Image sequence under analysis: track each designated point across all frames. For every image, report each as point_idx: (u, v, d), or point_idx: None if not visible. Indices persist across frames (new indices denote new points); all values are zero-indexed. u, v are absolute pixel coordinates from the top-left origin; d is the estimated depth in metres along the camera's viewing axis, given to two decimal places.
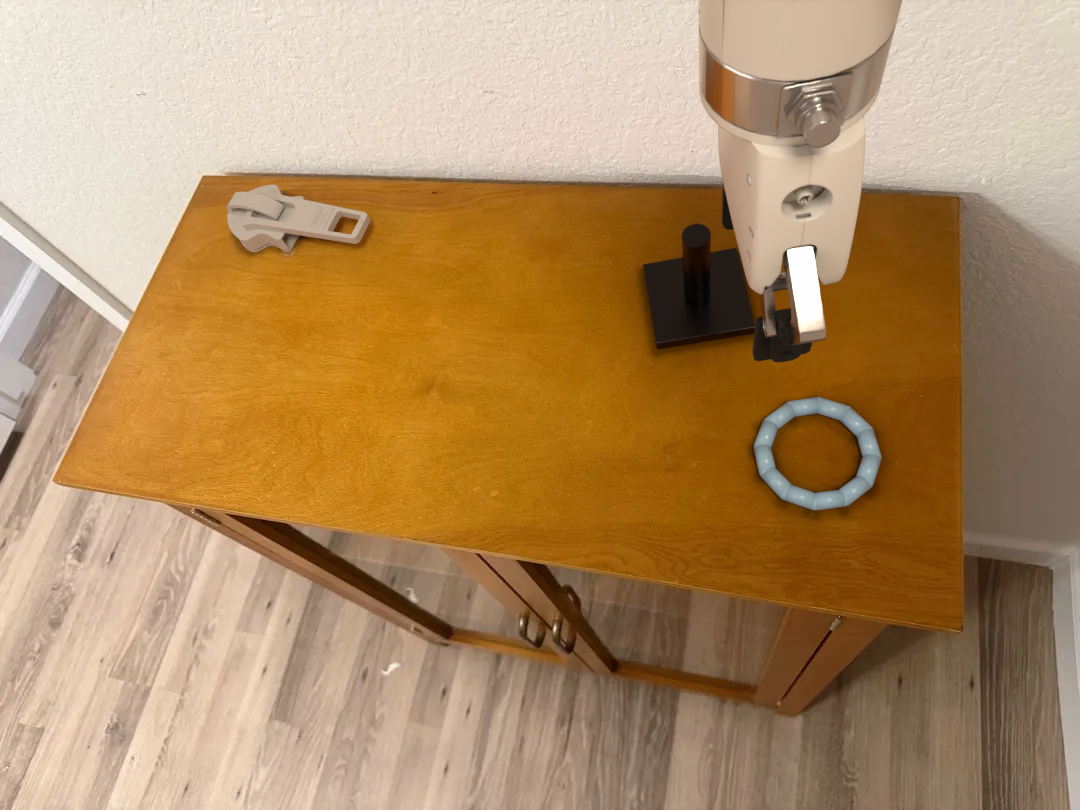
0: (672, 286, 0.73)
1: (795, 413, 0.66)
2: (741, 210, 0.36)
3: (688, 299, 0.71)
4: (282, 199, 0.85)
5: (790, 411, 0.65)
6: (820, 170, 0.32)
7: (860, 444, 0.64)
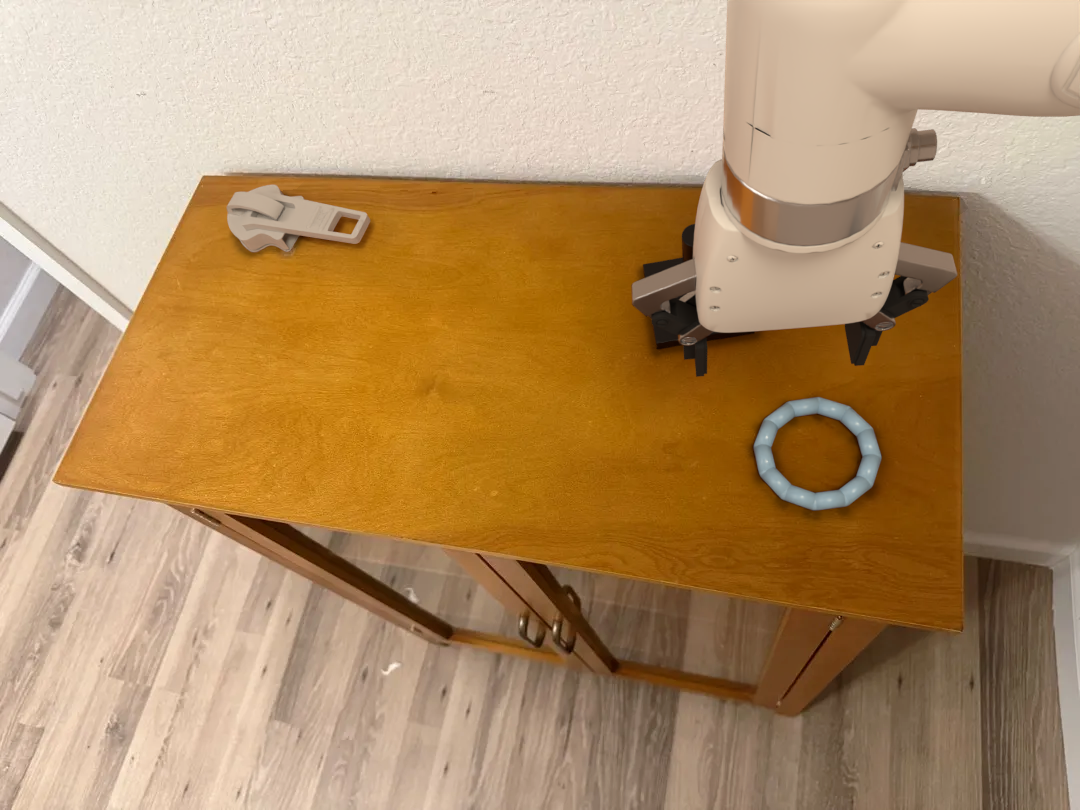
0: None
1: (795, 413, 0.66)
2: (858, 279, 0.39)
3: None
4: (281, 199, 0.85)
5: (790, 411, 0.65)
6: None
7: (860, 444, 0.64)
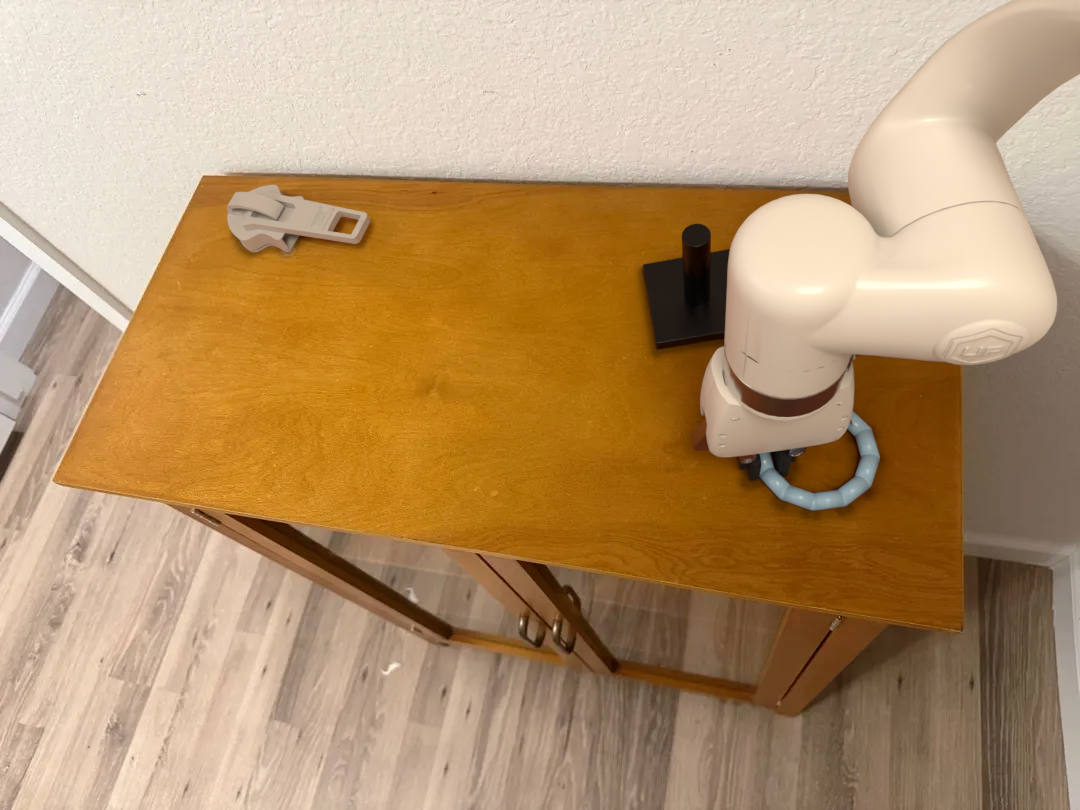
0: (672, 286, 0.73)
1: None
2: (826, 422, 0.53)
3: (688, 299, 0.71)
4: (282, 199, 0.85)
5: None
6: None
7: (858, 444, 0.64)
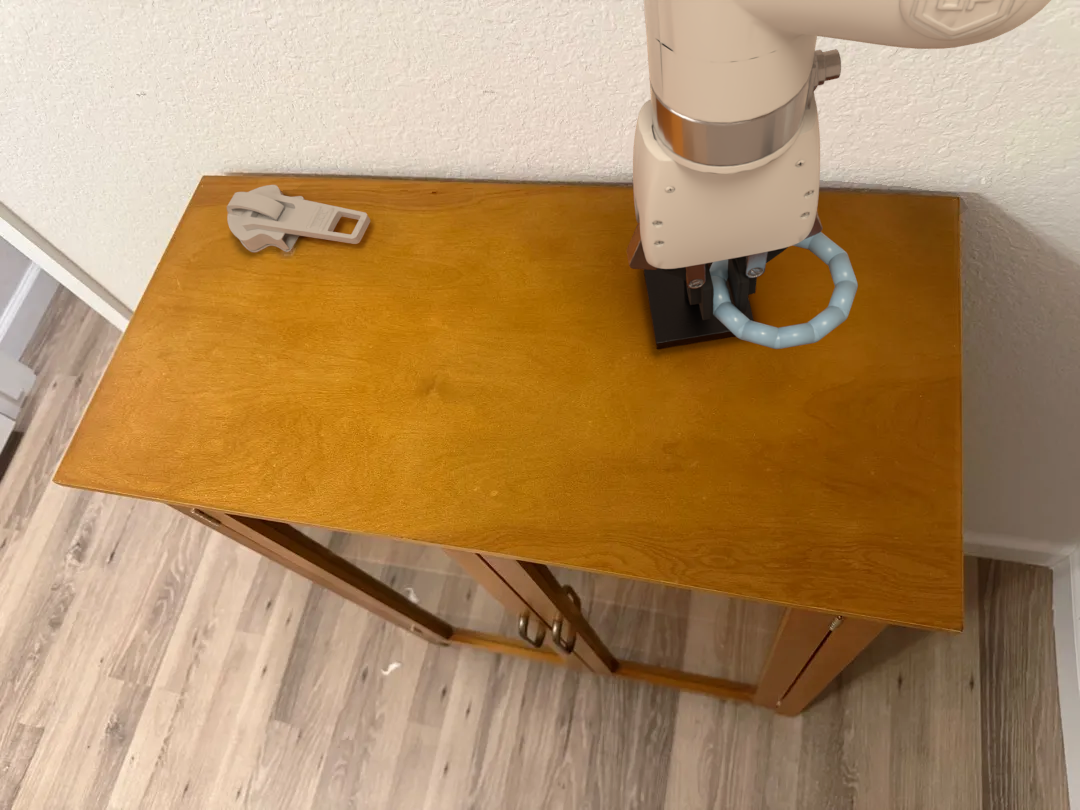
0: (672, 286, 0.73)
1: None
2: (786, 200, 0.42)
3: (688, 299, 0.71)
4: (282, 199, 0.85)
5: None
6: None
7: (832, 272, 0.53)
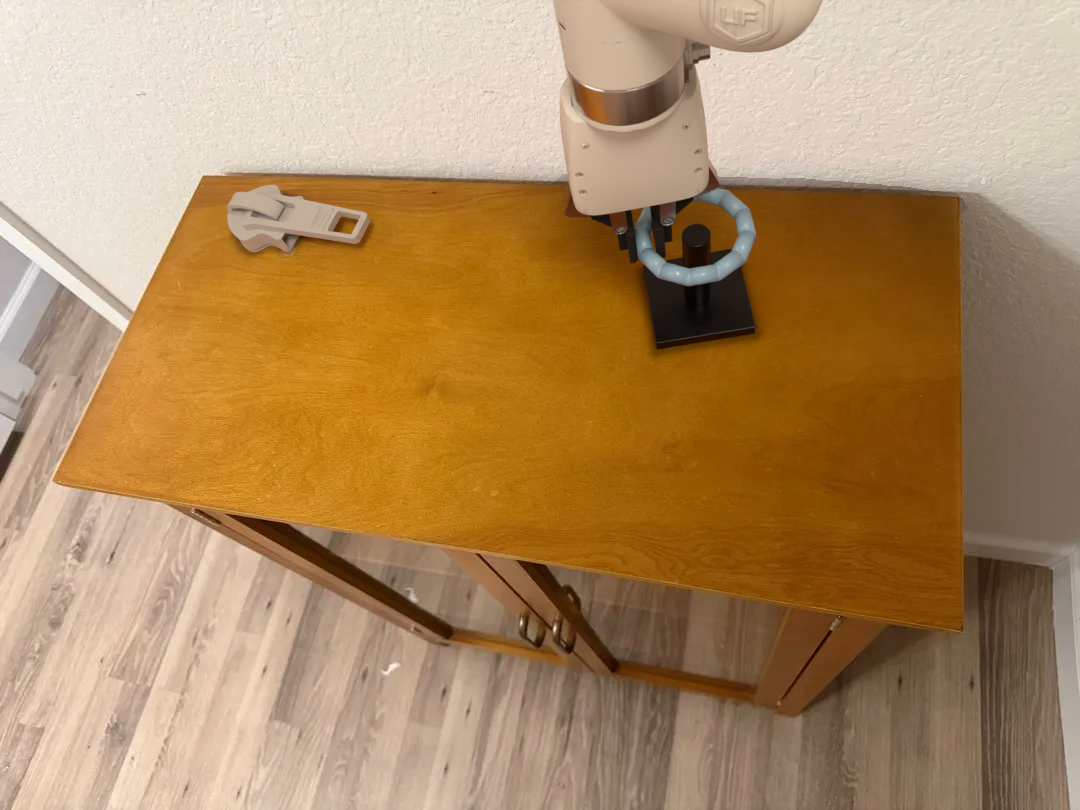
0: (672, 286, 0.73)
1: None
2: (680, 156, 0.53)
3: (688, 299, 0.71)
4: (282, 199, 0.85)
5: None
6: (698, 79, 0.50)
7: (736, 224, 0.64)
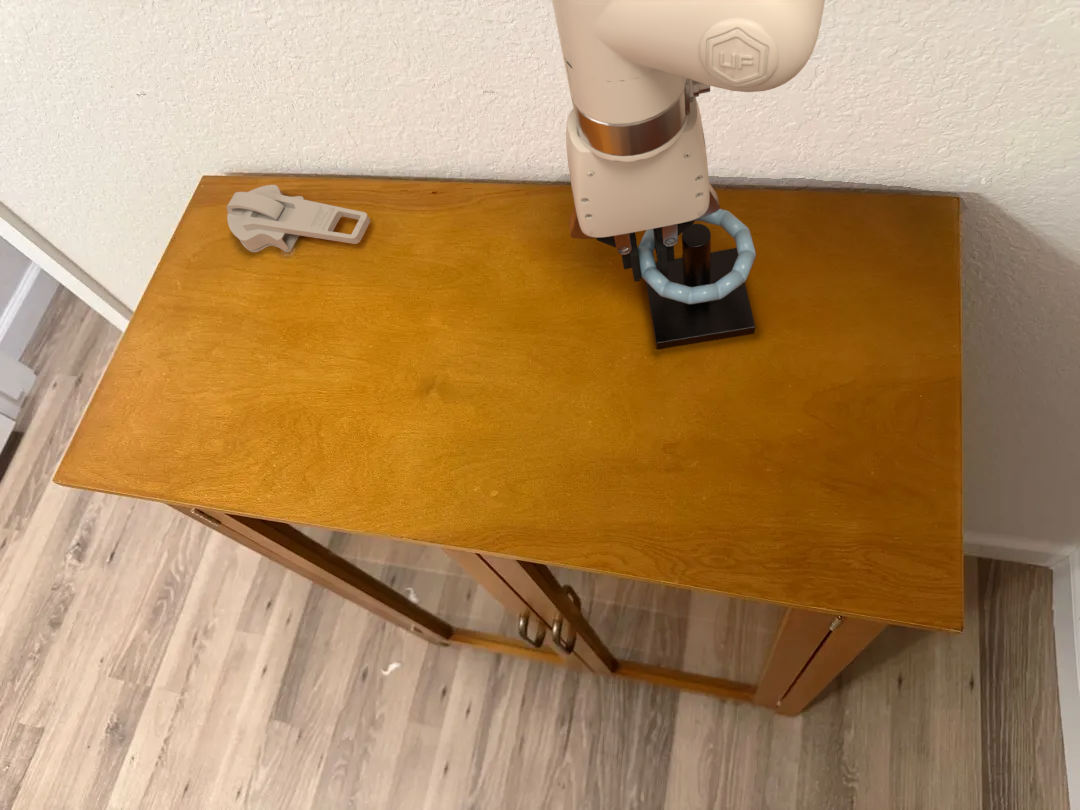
0: None
1: None
2: (681, 183, 0.55)
3: None
4: (282, 199, 0.85)
5: None
6: None
7: (736, 243, 0.66)
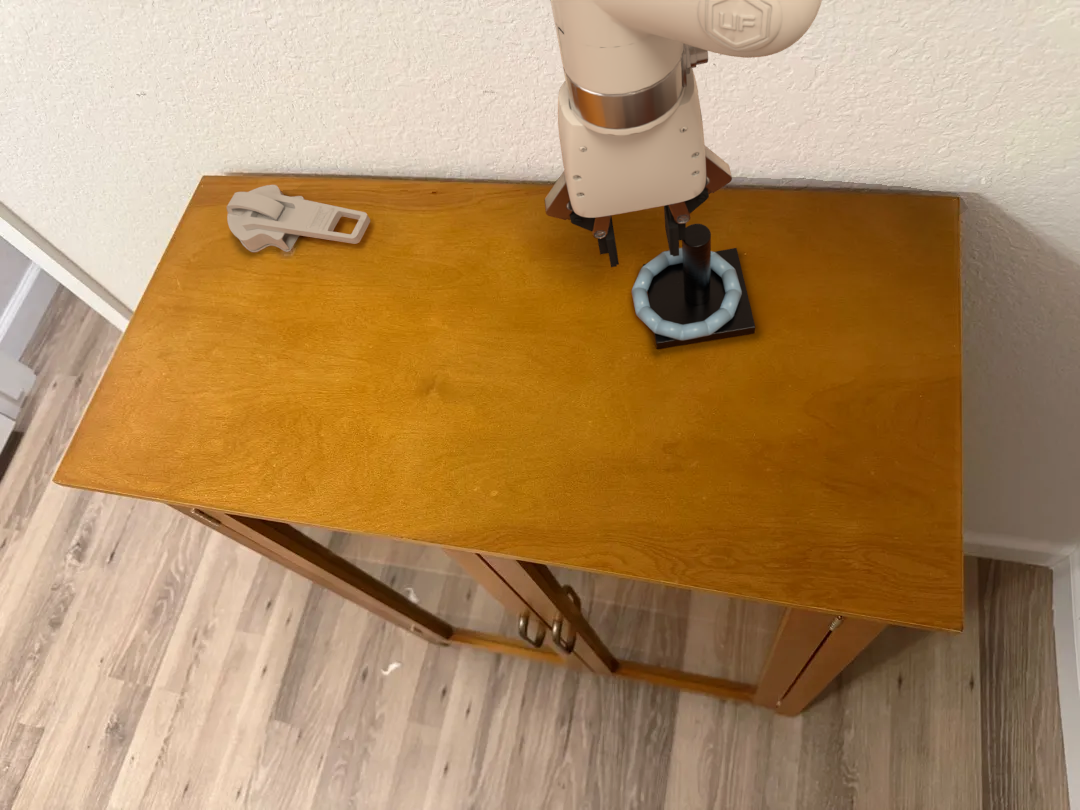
0: (672, 286, 0.73)
1: (668, 261, 0.73)
2: (677, 159, 0.53)
3: (688, 299, 0.71)
4: (282, 199, 0.85)
5: (663, 259, 0.73)
6: None
7: (723, 283, 0.71)
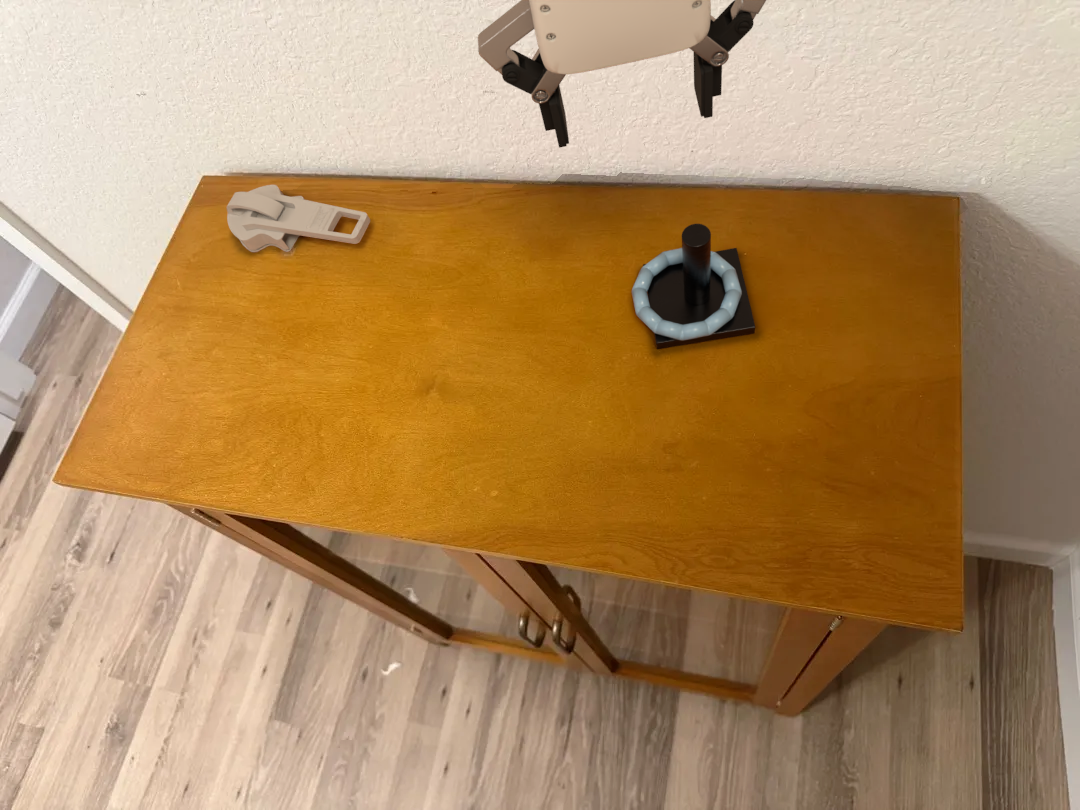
0: (672, 286, 0.73)
1: (668, 261, 0.73)
2: None
3: (688, 299, 0.71)
4: (281, 199, 0.85)
5: (663, 259, 0.73)
6: None
7: (723, 283, 0.71)
